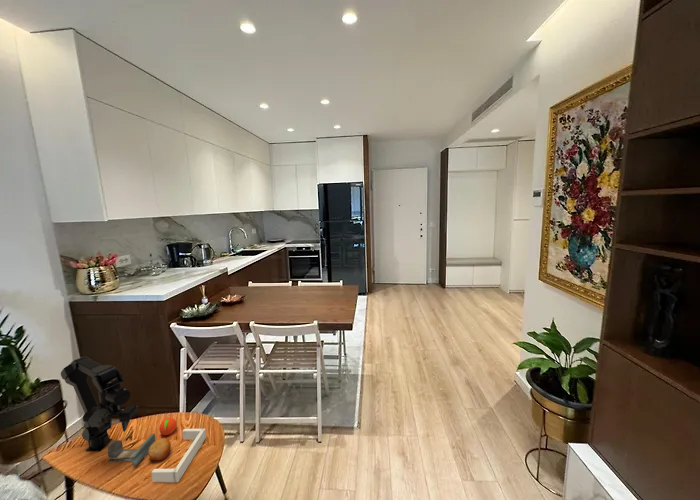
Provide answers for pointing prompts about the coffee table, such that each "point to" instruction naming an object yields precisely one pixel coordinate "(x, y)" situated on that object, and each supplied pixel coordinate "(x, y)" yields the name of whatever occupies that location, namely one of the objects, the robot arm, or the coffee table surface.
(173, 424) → the clementine
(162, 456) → the fruit
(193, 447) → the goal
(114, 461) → the track
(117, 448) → the kicker
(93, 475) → the coffee table surface
